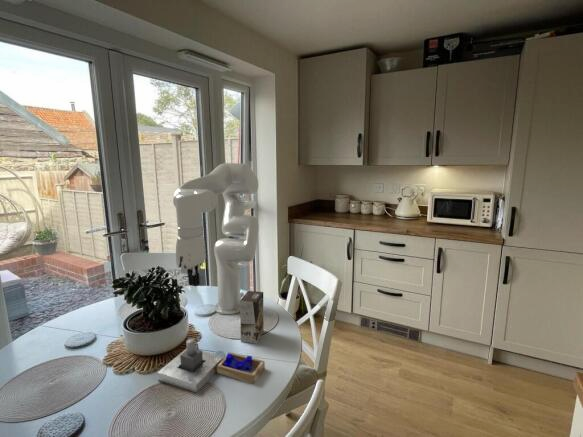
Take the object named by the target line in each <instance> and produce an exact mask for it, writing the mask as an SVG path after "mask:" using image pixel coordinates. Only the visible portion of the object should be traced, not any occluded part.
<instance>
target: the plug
mask: <svg viewBox="0 0 583 437" xmlns="http://www.w3.org/2000/svg"><path fill="white" fill-rule="evenodd" d="M185 344H186V348H187V350H186V351H185V352H184V353H183V354H181V355H180V359H181V369H183V370H186V371H189V372H193V373H194V372H195V371H196V370H197V369H198V368H199V367H200V366H201V365H202V364H203V358H202V351H203V350H201V349H197V348H196V339H193V338H189V339H187V340H186V343H185Z"/></svg>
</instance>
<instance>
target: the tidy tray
mask: <svg viewBox="0 0 583 437" xmlns="http://www.w3.org/2000/svg"><path fill="white" fill-rule="evenodd" d="M228 354H233V357H234V359H235V360H236V361H238V362H244V361H245V360H246V358H247V356H246V355H241V354H239V353H234V352H228ZM225 362H226V356H225V357H224V359H223V360H222V361H221V362H220V363H219V364H218V365H217V371H216V373H217V374H219V375H222V376H225V377H230V378H233V379H236V380H238V381H239V380H240V381H243V382H247V383H250V384H255V382H256V381H257V380H258V378H259V377H260V375H261V374H262V373H263V372H264V370H265V365H266V364H265V360H261V359H258V358H253V357H252V368H255V370H254V371H253V372H252V373H250V372H246V371H245V370H237V369H233V368H229V367H226V366H224V364H225Z"/></svg>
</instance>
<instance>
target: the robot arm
mask: <svg viewBox="0 0 583 437" xmlns="http://www.w3.org/2000/svg"><path fill="white" fill-rule="evenodd" d="M258 189H259V180H258V177H257V176H256V174H255V172H254V171H253V169H252V168H251V167H250V166H249V165H247V164H245V163H242V162H239V163H238V162H237V163H235V162H233V163H232V162H231V163H230V162H224V163H220V164H219V165H217V166H216V167H215V168H214V169H213V170H212V171H210V172H209V174H207V175H204V176H201V177H198V178H195V179H190V180H188V181H186V182H184V183H183V184H182V185H180V186H179V187H178V188H177V189H176V190H175V192H174V194H173V197H172V203H173V205H174V208H175V211H176V212H175V213H176V223H177V238H176V245H175V262H176V263H175V264H176V267H177V268H178V269H179V268H180V274H185V275H187V279H188V280H187V281H188V285H189V286H192V287H197V286H199V285H200V284H201V283H200V272H201V266H203V264H204V263H205V260H206V258H207V252H206V241H205V237H204V233H203V232H204V231H203V218H202V214H203V213H209V212H211V211H213V210H215V209H216V207H217V205H218V196H219V195H221V194H222V196H223V201H224V210H223V217H222V223H221V232H222V233H223V235H225V236H227V237H236V238H227V237H226V238H225V237H224V238H220V239H218V240H216V241H215V243H214V246H213V254H214V257H215V261H216V273H217V276H216V277H217V279H216V280H217V303H216V304H215V305H214V311H215V312H216V313H217V314H221V315H234V314H238V313H240V300H241V299H242V298H243V296H244V295H245V293H244V292H242V291H241V280H240V279H241V277H240V274H241V272H240V267H239V265H238V263H237V262H241V263H251V262H252V261H253V260H254V259H255V256H256V251H257V244H258V237H259V220H258V219H257V217H256V216H253V215H250V214H249V215H247V214H244V213H245V203H244V202H243V200H242V199H241V197H239V195H238V194H240V195H242V194H243V195H244V194H245V195H254V194H256V192H258ZM237 237H239V238H240V239H239V238H237ZM242 238H245V239H242Z"/></svg>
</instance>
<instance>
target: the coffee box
mask: <svg viewBox="0 0 583 437" xmlns="http://www.w3.org/2000/svg"><path fill="white" fill-rule="evenodd" d="M239 315H240V319H239V320H240V342H245V343H250V344H251V343H252V344H257V343H258V342H259V339H260V338H261V336H262V334H263V333H264V331H265V330H264V319H265V318H264V292H263V291H251V290H247V292H246V293H244V296H243V297H241V299H240V312H239Z"/></svg>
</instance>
